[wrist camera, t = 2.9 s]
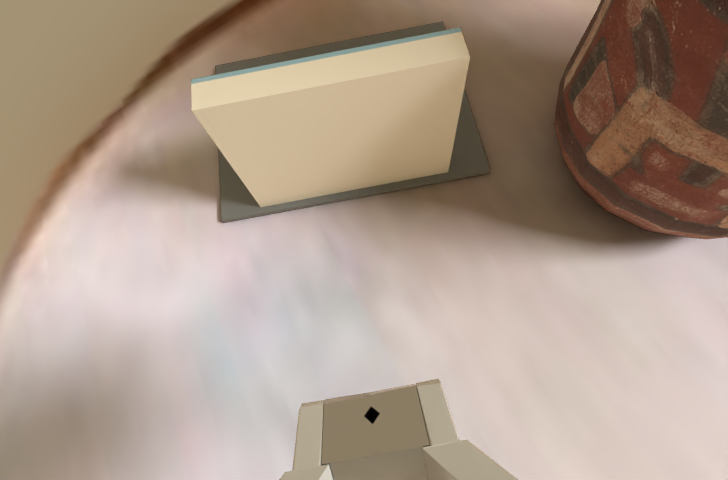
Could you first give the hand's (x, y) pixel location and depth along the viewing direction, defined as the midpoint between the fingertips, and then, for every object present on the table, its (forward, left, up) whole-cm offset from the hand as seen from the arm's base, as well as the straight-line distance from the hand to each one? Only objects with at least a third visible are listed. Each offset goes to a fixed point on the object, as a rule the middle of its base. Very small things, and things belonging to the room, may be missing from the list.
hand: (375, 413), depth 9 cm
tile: (0, -16, -17) cm, 24 cm away
